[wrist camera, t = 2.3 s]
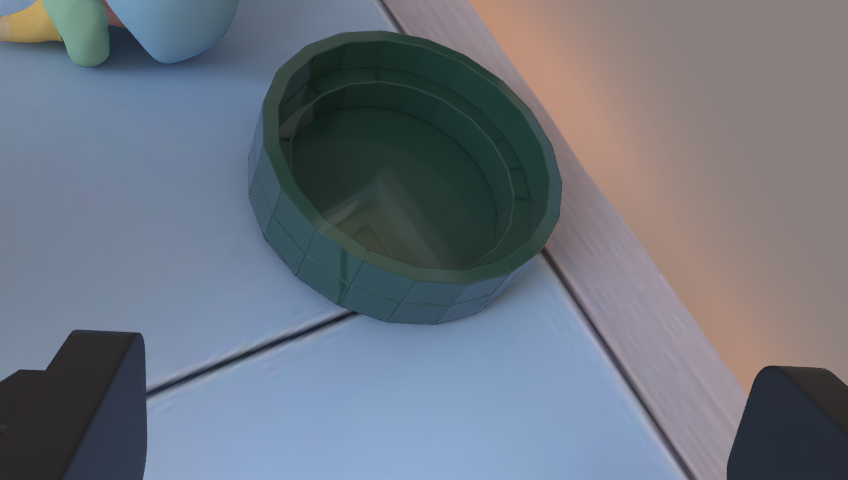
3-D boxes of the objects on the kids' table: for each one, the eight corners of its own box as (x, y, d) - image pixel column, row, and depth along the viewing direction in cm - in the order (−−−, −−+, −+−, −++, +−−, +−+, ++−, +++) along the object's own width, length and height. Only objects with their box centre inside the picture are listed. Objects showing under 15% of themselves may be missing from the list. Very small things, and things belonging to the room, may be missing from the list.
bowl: (181, 206, 33) (191, 144, 30) (346, 51, 42) (369, -11, 39) (447, 390, 33) (488, 348, 30) (557, 194, 42) (599, 145, 39)
